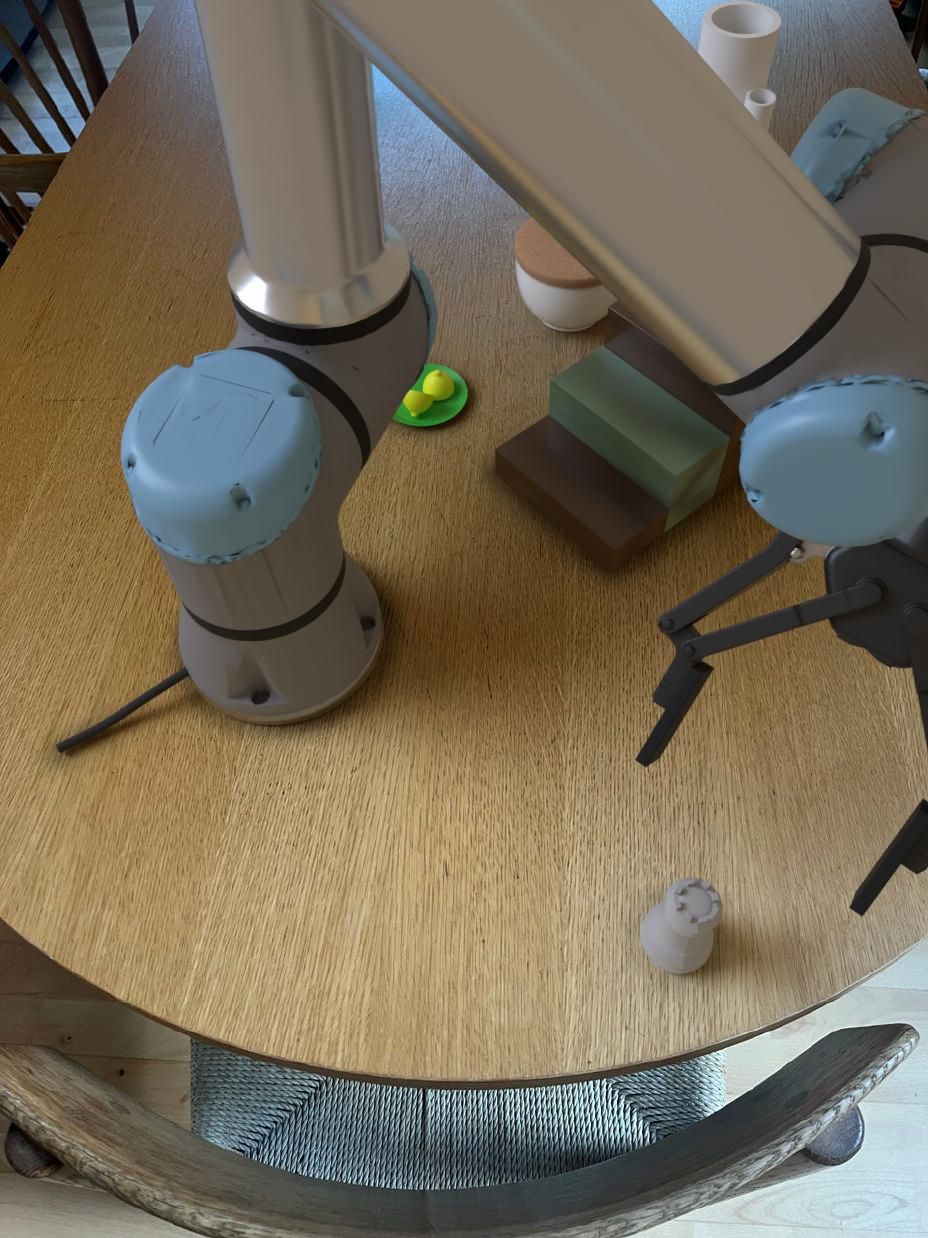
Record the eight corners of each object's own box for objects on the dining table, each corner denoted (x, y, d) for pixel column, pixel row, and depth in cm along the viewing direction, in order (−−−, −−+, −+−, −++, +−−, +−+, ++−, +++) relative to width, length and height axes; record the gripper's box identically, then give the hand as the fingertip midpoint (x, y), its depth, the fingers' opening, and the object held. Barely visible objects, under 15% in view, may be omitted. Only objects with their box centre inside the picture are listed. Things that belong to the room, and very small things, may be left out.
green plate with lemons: (452, 438, 86) (451, 415, 84) (367, 421, 87) (363, 397, 85) (478, 377, 90) (478, 353, 88) (396, 361, 92) (393, 337, 89)
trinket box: (617, 354, 91) (629, 269, 83) (504, 341, 93) (505, 256, 85) (630, 281, 97) (642, 194, 89) (523, 270, 98) (525, 184, 91)
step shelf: (610, 573, 78) (625, 480, 68) (494, 473, 84) (494, 375, 74) (762, 460, 84) (794, 361, 74) (643, 375, 90) (660, 273, 81)
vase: (669, 202, 104) (702, -1, 87) (739, 206, 103) (785, 2, 86) (667, 270, 98) (701, 66, 81) (740, 275, 97) (791, 69, 80)
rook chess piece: (715, 976, 61) (742, 940, 54) (642, 976, 61) (660, 940, 54) (706, 904, 63) (731, 861, 56) (636, 904, 63) (653, 861, 56)
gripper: (1216, 618, 48) (961, 946, 54) (763, 394, 57) (591, 697, 63) (1252, 631, 41) (957, 1003, 47) (733, 376, 50) (545, 715, 57)
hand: (747, 829), depth 55 cm, fingers open, 13 cm apart
